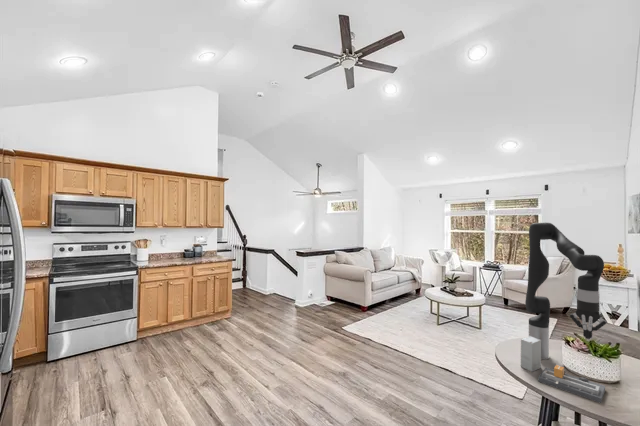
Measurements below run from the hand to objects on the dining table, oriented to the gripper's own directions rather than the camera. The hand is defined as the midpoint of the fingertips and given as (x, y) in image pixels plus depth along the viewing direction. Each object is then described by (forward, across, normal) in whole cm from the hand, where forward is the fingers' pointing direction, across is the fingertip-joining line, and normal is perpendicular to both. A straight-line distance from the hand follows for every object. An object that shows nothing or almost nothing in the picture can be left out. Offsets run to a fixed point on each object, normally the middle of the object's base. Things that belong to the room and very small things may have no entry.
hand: (587, 338), depth 136 cm
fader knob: (+22, +10, +1) cm, 24 cm away
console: (+24, +6, -1) cm, 25 cm away
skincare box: (+24, +23, -6) cm, 34 cm away
